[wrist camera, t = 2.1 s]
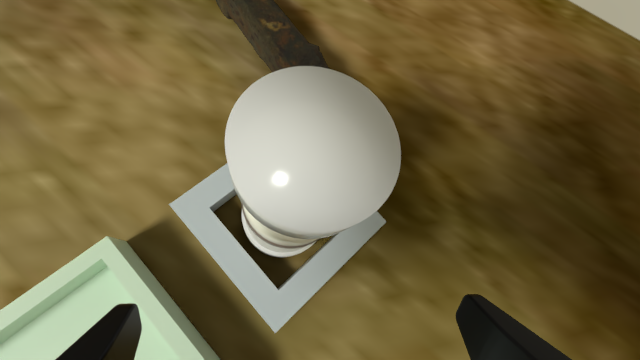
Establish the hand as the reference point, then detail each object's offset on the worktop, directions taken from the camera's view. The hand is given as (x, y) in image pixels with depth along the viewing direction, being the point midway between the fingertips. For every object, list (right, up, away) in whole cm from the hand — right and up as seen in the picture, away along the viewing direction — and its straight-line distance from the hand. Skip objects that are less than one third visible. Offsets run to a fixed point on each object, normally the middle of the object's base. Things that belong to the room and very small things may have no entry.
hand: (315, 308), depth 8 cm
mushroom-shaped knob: (-2, +1, +12) cm, 12 cm away
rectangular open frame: (-2, +1, +12) cm, 12 cm away
